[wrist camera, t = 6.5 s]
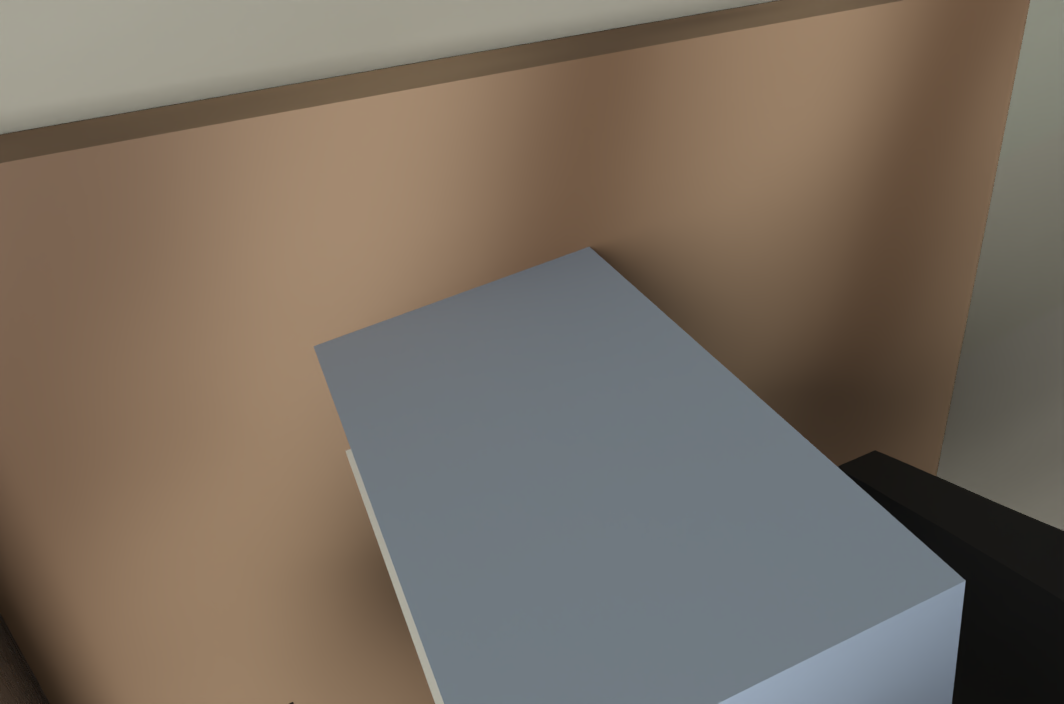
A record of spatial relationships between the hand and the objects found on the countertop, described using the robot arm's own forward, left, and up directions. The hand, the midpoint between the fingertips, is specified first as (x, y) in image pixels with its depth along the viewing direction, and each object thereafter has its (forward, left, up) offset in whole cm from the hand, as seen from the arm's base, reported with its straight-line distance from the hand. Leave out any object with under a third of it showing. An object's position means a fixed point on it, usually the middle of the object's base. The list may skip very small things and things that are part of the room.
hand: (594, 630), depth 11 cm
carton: (0, 0, -3) cm, 3 cm away
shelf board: (-1, 0, -5) cm, 5 cm away
